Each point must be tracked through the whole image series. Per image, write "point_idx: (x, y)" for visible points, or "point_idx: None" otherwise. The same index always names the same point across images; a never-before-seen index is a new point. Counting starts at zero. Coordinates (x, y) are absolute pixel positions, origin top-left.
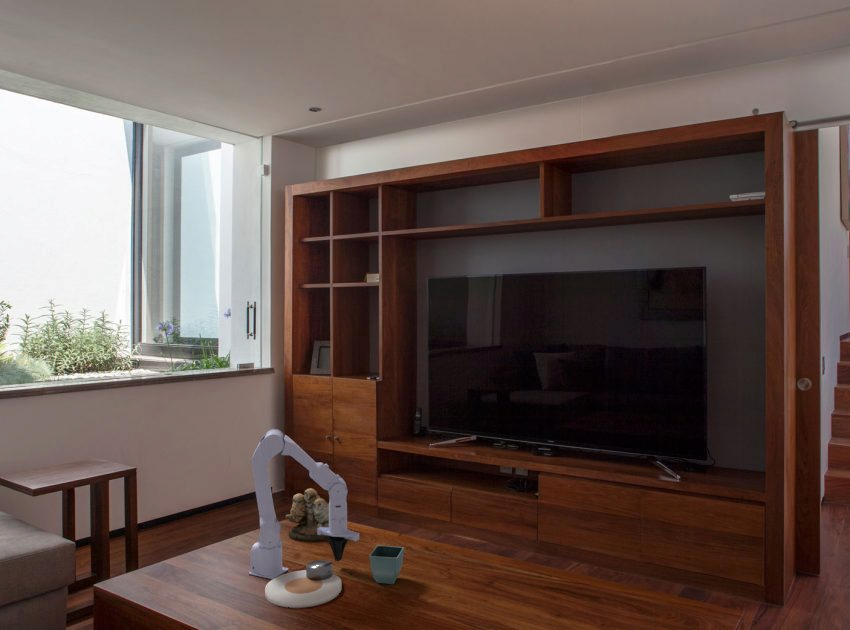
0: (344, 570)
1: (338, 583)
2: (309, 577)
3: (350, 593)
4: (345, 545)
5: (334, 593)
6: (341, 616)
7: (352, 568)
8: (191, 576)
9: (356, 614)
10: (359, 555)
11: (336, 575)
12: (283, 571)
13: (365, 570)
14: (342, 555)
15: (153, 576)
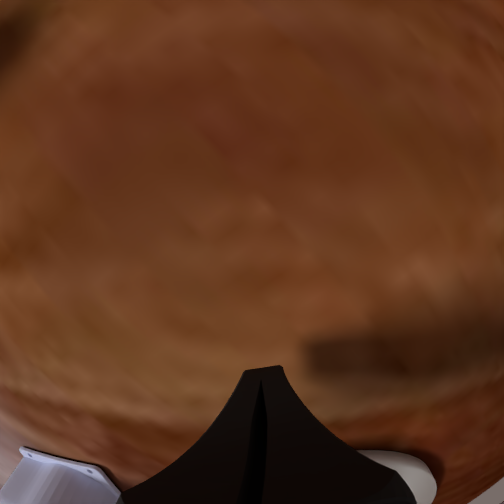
0: (336, 364)
1: (419, 482)
2: None
3: (463, 453)
4: (333, 435)
5: (430, 501)
6: (468, 496)
7: (365, 311)
8: None
9: (496, 473)
10: (235, 79)
11: None
12: (113, 489)
13: (451, 281)
14: (286, 379)
15: None
